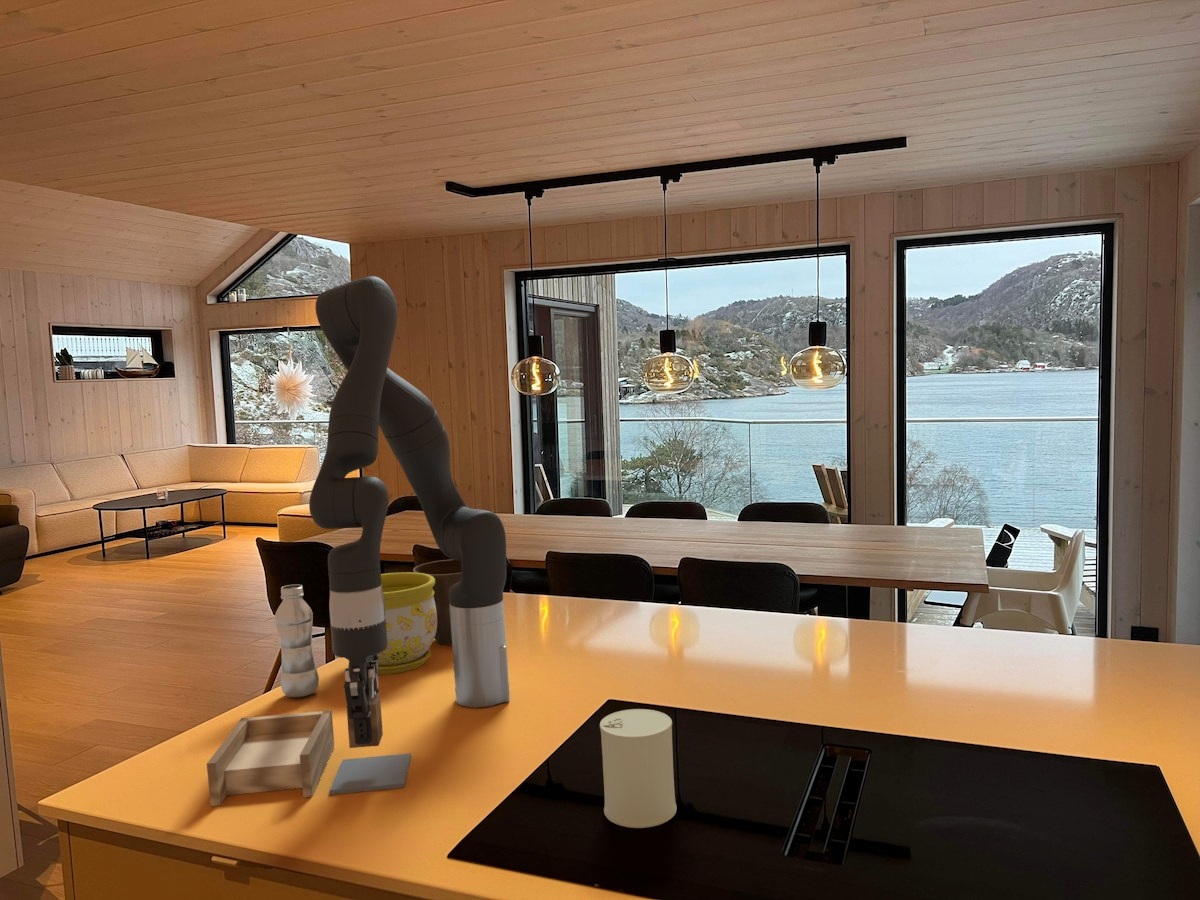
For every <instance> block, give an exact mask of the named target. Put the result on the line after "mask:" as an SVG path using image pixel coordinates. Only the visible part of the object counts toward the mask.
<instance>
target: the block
mask: <svg viewBox="0 0 1200 900" xmlns="http://www.w3.org/2000/svg"><path fill="white" fill-rule="evenodd" d="M381 704H382V703H381V694H379V693H378V694H377V695H374V698H373V699H372V700H371V701H370V707H371V716H370V718H371V732H372V740H371V742H370V743H369V744H360V745H358V744H356V743H355V732H354V719H349V717H348V708H347V707H346V716H347V717H346V719H347V731H348V745H349V749H354V748H355V749H356V748H357V749H358V748H366V747H367V748H368V747H369V748H370V747H379V745H380V744H381V740H382V738H383V734H384V733H383V721H382V719H383V718H382V705H381ZM358 709H362V706H360V705H359V706H356V710H358Z"/></svg>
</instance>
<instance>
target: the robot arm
mask: <svg viewBox="0 0 1200 900" xmlns="http://www.w3.org/2000/svg"><path fill="white" fill-rule="evenodd" d="M389 286H390V285H388V283H387V282H386V281H384V280H383V279H382V278H380V277H378V276H375V275H373V276H372V275H370V276H364V277H361V278H357V279H354V280H352V281H348V282H346V283H344V284H341V285H340V284H339V285H338V286H334V287H332V288H329V289H327V290H324V291H322V292H321V293H320V294H318V296H317V298H316V300H315V314H316V318H317V321H318V325H319V326H320V328H321V331H322V332H323V335H324V337H325V338H326V339H327V342H328V343H329V345H330V346H331V347H332V349H333V351H334V352H335V354H336V355H337V357H338V359H339V360H340V361H341V363H342V364H343V366H344V367H345V369H346V370H347V372H346V374H345V376H344V378H343V379H342V381H341V383H340V385H339V387H338V389H337V391H336V393H335V394H334V397H333V399H332V402H331V406H330V410H329V416H328V427H327V428H328V431H327V443H326V450H325V454H324V458H323V461H322V463H321V467H320V470H319V472H318V474H317V477H316V479H315V481H314V483H313V487H312V489H311V492H310V496H309V505H308V506H309V507H308V508H309V514H310V516H311V519H312V521H313V522H314V523H315V524H316V525H317V526H318V527H319V528H321V529H324V530H325V529H326V530H338V529H357V528H358V529H359V528H361V529H362V530H361V532H362V533H361V536H360V538H359V539H357V540H355V541H351V542H347V543H345V544H340V545H338V546H337V545H336V546H334V547H333V548H331V550H329V553H328V554H327V570H328V581H329V582H328V583H329V603H328V605H329V620H330V634H331V635H330V637H331V647H332V649H331V650H332V653H333V655H334V656H335V657H338V658H339V659H340V658H341V659H343V658H344V659H346V660H347V661H348V665H347V666H348V667H345V668H344V670H345V671H344V677H345V678H344V679H345V682H344V684H343V689H344V695H345V701H346V709H347V708H348V717H349V719H354V732H355V743H356V744H358V745H360V744H369V743H370V742H371V740H372V732H371V718H370V716H371V707H370V701H371V700H372V699H373V698H374V695H377V694H379V692H380V689H379V674H378V655H377V654H379V653H381V652H383V651H384V650H385V649H386V648H387V631H386V616H385V602H384V596H383V591H382V585H381V574H382V571H381V555H380V554H381V544H382V537H383V531H384V526H385V521H386V519H387V514H388V511H389V510H388V509H389V504H390V503H389V502H390V496H389V491H388V488H387V487H386V486H387V485H385V484H384V482H383V481H382V480H381V479H380V478H378V477H375V476H358V477H357V476H356V477H346V476H348V475H349V474H350V473H352V472H354V471H357V470H360V469H363V468H367V467H368V466H371V465H373V464H374V463H375V462H376V460H377V457H378V452H379V430H380V431H381V433H382V435H383V436H384V438H385V440H386V442H387V445H388V446H389V447H390V449H391V452H392V454H393V455H394V456H395V459H396V460H397V462H398V463H399V465H400V467H401V469H402V472H403V473H404V475H405V477H406V479H407V481H408V482H409V484H410V487H412V489H413V492H414V494H415V495H416V497H417V499H418V501H419V504H420V506H421V509H422V512H423V513H424V516H425V518H426V521H427V523H428V526H429V528H430V530H431V533H432V536H433V539H434V541H435V543H436V545H437V547H438V549H439V550H440V552H441V553H442V554H443V555H444V556H446V557H447V558H448V559H450V560H456V561H461V562H462V577H461V581H460V582H458V583H455V584H454V585H452V586H451V587H450V589H449V603H450V604H449V606H450V621H451V635H452V645H451V647H452V648H451V649H452V659H453V660H452V662H453V676H454V691H455V701H456V704H458V705H460V706H462V707H467V708H488V707H492V706H496V705H498V704H499V705H500V704H502V703H508V702H510V681H509V680H510V679H509V664H508V662H509V661H508V647H507V637H506V623H505V610H504V609H505V608H504V607H505V606H504V589H505V585H506V582H507V539H506V537H507V536H506V531H505V526H504V523H503V521H502V520H501V518H500V517H499V515H497V514H496V513H495V512H493V511H489V510H485V509H477V508H471V507H469V506H468V504H466V502H465V501H464V499H463V497H462V495H461V493H460V492H459V489H458V488H457V486H456V484H455V482H454V479H453V476H452V471H451V448H450V447H451V446H450V439H449V436H448V433H447V430H446V428H445V426H444V423H443V422H442V420H441V418H440V416H439V414H438V411H437V410H436V408H435V405H434V404H433V402H432V401H431V400H430V399H429V398H428V396H427V395H425V394H424V393H423V392H422V391H421V390H419V389H418V388H417V387H415V386H414V385H412V384H411V383H410V382H409V381H407V380H405V379H404V378H403V377H401V376H400V375H398V374H397V373H395V371H393V370H391V369H390V368H389V367H388V366H389V363H390V359H391V352H392V350H393V349H392V347H393V344H394V338H395V334H396V331H397V324H398V305H397V299H396V297H395V295H394V292H393V290H392V289H391V287H389ZM359 705H360V706H362V709H358V710H356V706H359Z"/></svg>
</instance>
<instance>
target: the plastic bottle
mask: <svg viewBox="0 0 1200 900" xmlns="http://www.w3.org/2000/svg"><path fill="white" fill-rule="evenodd" d="M303 588H304V587H303V585H302V584H287V585H284V586H282V587H281V588H280V594H281V595H280V599H281V600H282V602H281V603H280V605H279V606H278V608H277V610H276V611H275V615H274V622H275V623H274V624H275V627H276V630H277V635H278V639H279V640H278V641H279V647H280V651H281V652H280V653H281V673H280V674H281V675H280V687H281V691H282V692H283V694H284V695H285V697H286V696H287V697H289V698H302V697H307V696H310V695H312V694H315V693H316V691H317V690H318V688H319V686H320V685H319V684H320V675H319V672H318V669H317V666H316V661H315V656H314V655H315V654H314V650H313V621H314V620H313V618H314V616H313V615H314V613H313V611H312V609H311V607H310V606H309V604H308V603H307V602H306V601H305V600H304V599H303V597H304V589H303Z"/></svg>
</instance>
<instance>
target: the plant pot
mask: <svg viewBox="0 0 1200 900" xmlns="http://www.w3.org/2000/svg"><path fill="white" fill-rule="evenodd" d="M413 573H424V574H428V575H431V576H433V577H434V579H435V585H434V586H433V587H432V588H433V591H434V595H433V596H434V601H435V605H436V611H437V630H436V634H435V637H434V641H435V643H437V644H439V645H443V646H452V635H451V621H450V606H449V604H450V603H449V589H450V587H451V586H452V585H454V584H455V583H458V582H460V581H461V577H462V562H461V561H456V560H453V559H443V560H435V561H431V562H426V563H422V564H419V565H417V566H414V568H413Z"/></svg>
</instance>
